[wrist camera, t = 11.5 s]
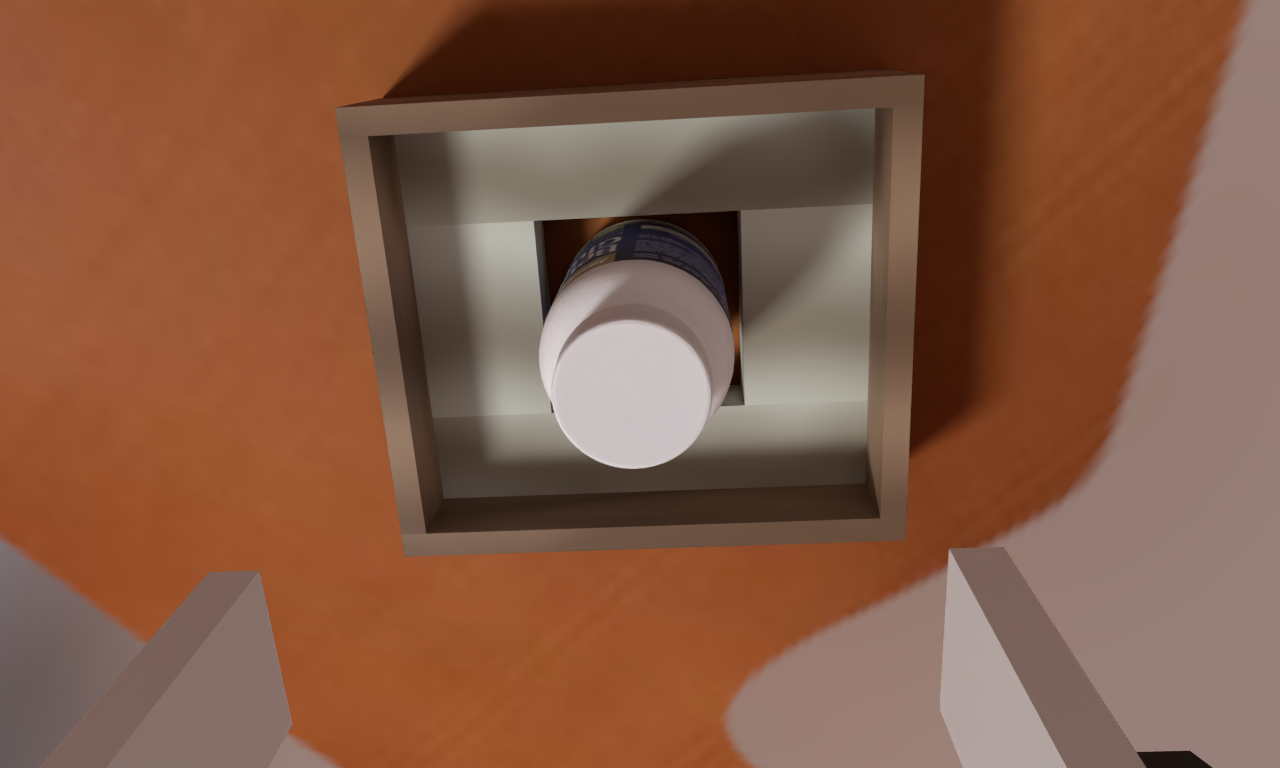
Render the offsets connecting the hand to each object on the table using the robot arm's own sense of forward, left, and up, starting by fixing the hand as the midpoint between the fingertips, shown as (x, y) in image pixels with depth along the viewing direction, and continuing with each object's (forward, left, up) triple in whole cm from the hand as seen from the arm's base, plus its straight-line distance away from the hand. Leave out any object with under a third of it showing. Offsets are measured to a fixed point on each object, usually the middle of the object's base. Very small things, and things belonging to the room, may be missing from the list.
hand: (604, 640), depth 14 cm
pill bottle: (0, 0, -20) cm, 20 cm away
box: (0, 0, -20) cm, 20 cm away
